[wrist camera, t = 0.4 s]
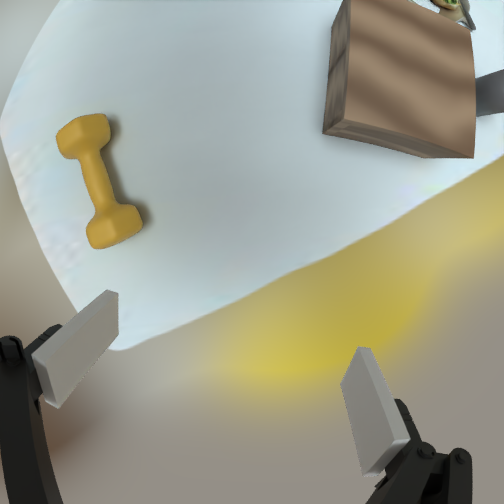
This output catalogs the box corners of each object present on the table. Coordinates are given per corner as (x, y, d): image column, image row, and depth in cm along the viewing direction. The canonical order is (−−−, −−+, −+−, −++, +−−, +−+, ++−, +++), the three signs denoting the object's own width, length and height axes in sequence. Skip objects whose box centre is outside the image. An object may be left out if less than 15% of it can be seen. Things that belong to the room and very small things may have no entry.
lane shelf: (331, 26, 32) (350, -18, 20) (428, 55, 31) (469, 29, 19) (322, 133, 37) (344, 118, 25) (424, 158, 36) (473, 158, 24)
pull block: (388, 50, 32) (419, 21, 21) (483, 90, 31) (523, 80, 21) (388, 83, 34) (421, 61, 23) (483, 121, 33) (525, 116, 22)
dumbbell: (156, 226, 42) (132, 239, 34) (110, 245, 43) (82, 260, 35) (117, 111, 37) (88, 103, 29) (74, 138, 39) (43, 136, 31)
